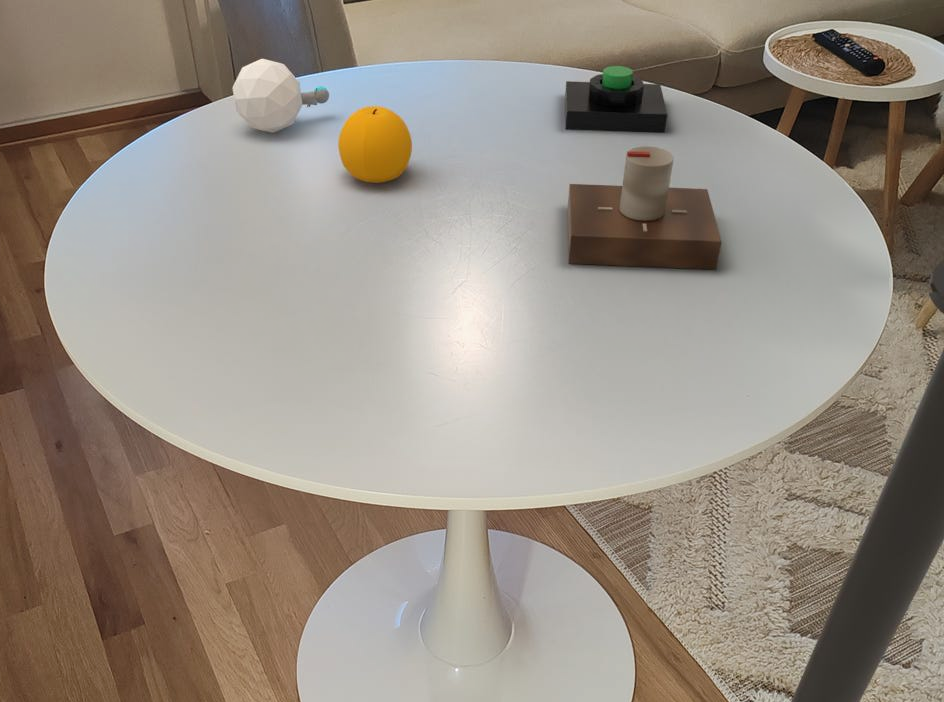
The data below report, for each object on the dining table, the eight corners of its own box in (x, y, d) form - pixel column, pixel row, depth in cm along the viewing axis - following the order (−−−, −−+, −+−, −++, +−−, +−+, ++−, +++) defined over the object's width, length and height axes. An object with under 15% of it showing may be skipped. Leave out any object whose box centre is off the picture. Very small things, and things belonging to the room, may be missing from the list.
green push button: (630, 80, 114) (632, 66, 113) (632, 91, 112) (634, 76, 111) (601, 79, 115) (602, 65, 113) (602, 90, 112) (603, 75, 111)
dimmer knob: (661, 200, 92) (671, 143, 88) (667, 221, 88) (677, 163, 84) (617, 199, 92) (624, 142, 88) (621, 220, 88) (629, 162, 85)
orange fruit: (369, 155, 106) (365, 89, 101) (426, 171, 103) (425, 103, 98) (326, 181, 101) (319, 112, 96) (385, 198, 98) (381, 128, 93)
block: (657, 101, 119) (662, 69, 116) (664, 132, 112) (669, 99, 109) (564, 98, 120) (567, 66, 117) (565, 129, 112) (568, 95, 110)
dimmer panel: (702, 216, 96) (707, 187, 94) (715, 269, 88) (722, 239, 86) (567, 210, 96) (569, 182, 94) (568, 263, 88) (571, 233, 86)
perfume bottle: (215, 91, 111) (304, 83, 117) (241, 150, 110) (329, 139, 116) (229, 45, 104) (323, 40, 110) (256, 107, 103) (349, 99, 109)
